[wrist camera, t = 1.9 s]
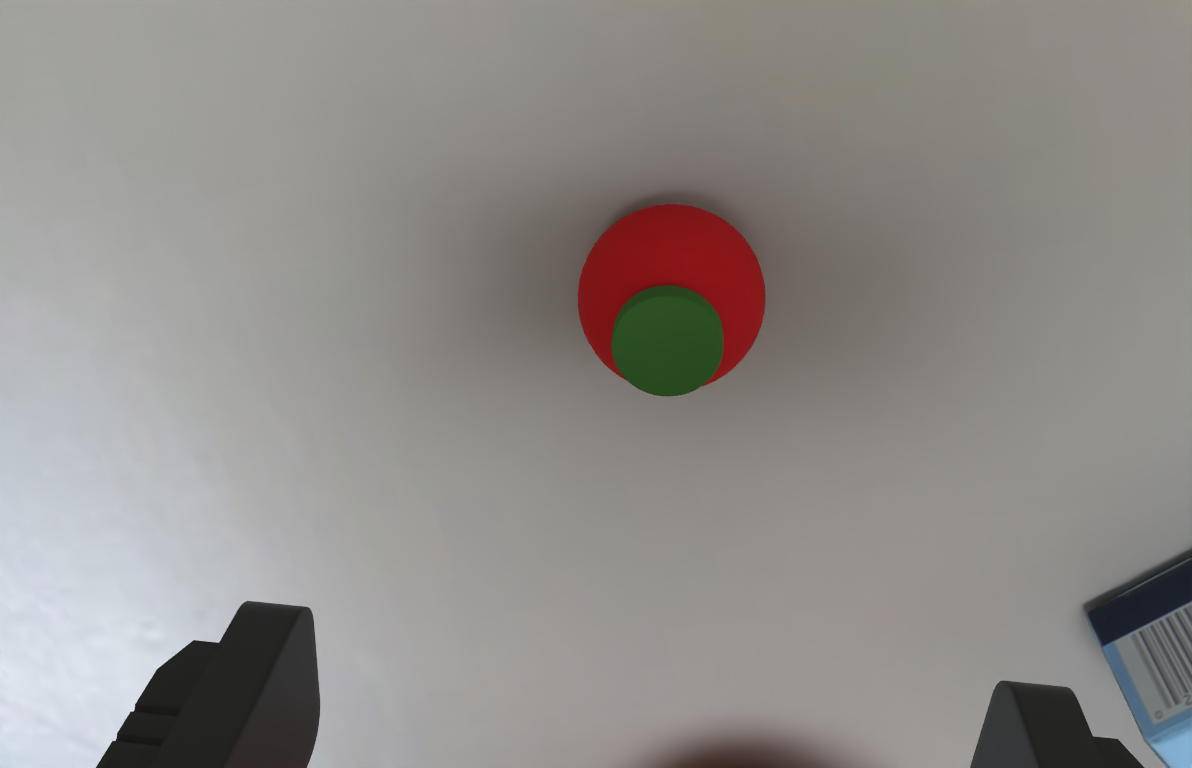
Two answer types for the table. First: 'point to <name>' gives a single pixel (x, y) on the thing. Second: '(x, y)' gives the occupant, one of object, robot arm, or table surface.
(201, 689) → the robot arm
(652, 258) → the strawberry
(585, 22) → the table surface
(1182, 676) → the gum box
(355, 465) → the table surface
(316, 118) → the table surface
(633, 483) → the table surface
